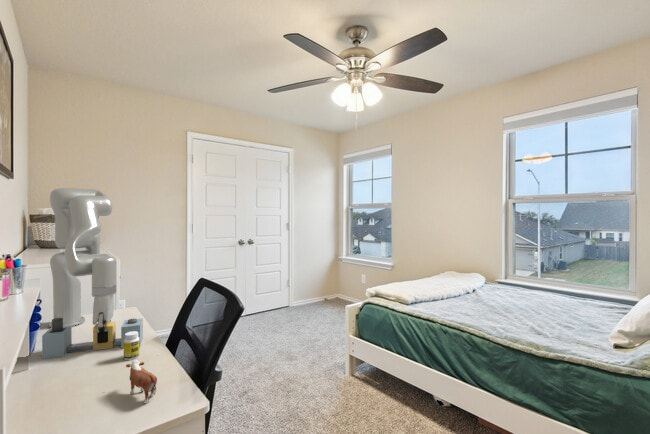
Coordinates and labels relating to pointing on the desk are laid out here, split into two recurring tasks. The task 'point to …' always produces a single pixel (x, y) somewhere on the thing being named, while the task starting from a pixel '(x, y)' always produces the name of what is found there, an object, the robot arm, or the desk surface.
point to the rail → (88, 346)
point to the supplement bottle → (131, 345)
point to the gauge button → (57, 324)
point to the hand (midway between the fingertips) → (104, 339)
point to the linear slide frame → (59, 341)
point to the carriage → (110, 337)
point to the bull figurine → (142, 379)
